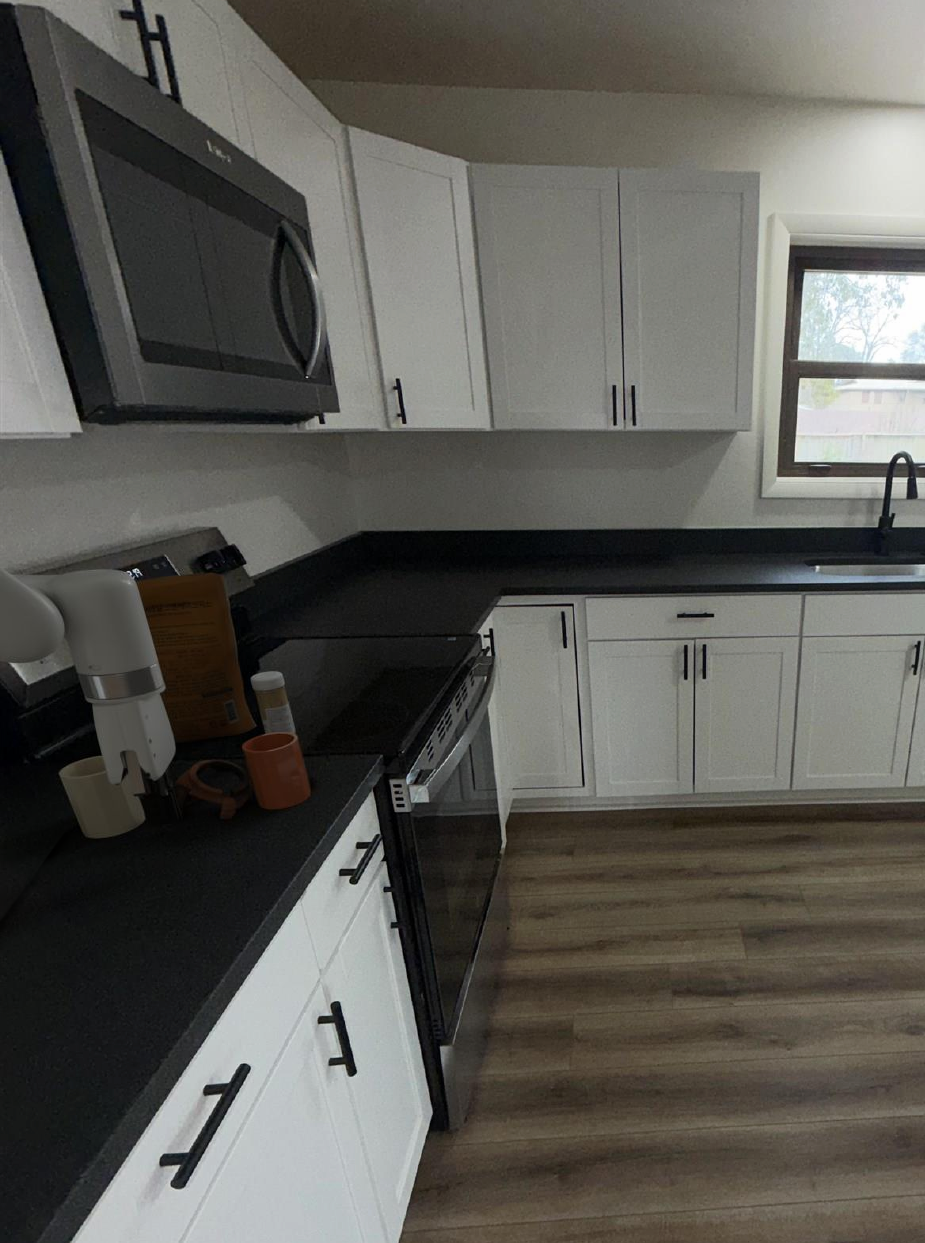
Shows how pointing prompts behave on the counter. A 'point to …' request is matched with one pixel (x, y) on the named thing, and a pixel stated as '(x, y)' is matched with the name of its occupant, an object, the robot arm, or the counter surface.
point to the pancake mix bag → (196, 655)
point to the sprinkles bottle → (273, 702)
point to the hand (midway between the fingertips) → (165, 821)
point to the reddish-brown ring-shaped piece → (195, 790)
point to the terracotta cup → (277, 770)
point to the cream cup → (100, 799)
